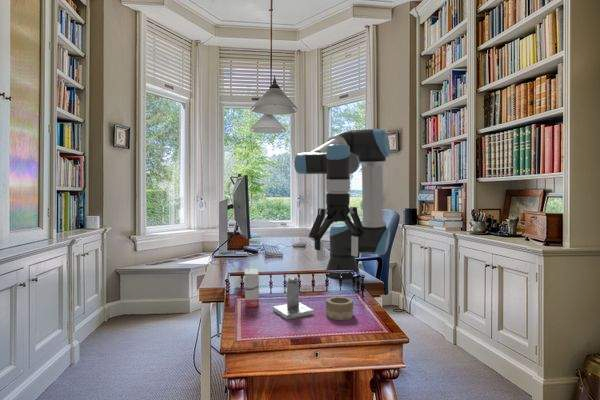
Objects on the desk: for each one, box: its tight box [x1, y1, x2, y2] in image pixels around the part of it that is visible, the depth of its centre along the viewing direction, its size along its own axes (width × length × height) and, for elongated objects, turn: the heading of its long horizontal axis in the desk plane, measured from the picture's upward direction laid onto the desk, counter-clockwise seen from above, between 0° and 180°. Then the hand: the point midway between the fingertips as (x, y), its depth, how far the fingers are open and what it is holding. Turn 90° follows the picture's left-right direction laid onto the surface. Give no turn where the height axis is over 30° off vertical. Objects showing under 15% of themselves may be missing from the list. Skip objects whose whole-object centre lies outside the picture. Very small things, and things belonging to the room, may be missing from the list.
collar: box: [325, 295, 354, 321], centre depth 141 cm, size 8×8×5 cm
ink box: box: [244, 268, 260, 308], centre depth 153 cm, size 9×5×12 cm, turn 5°
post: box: [272, 277, 315, 321], centre depth 143 cm, size 10×10×12 cm
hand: (337, 258), depth 140 cm, fingers open, 13 cm apart
